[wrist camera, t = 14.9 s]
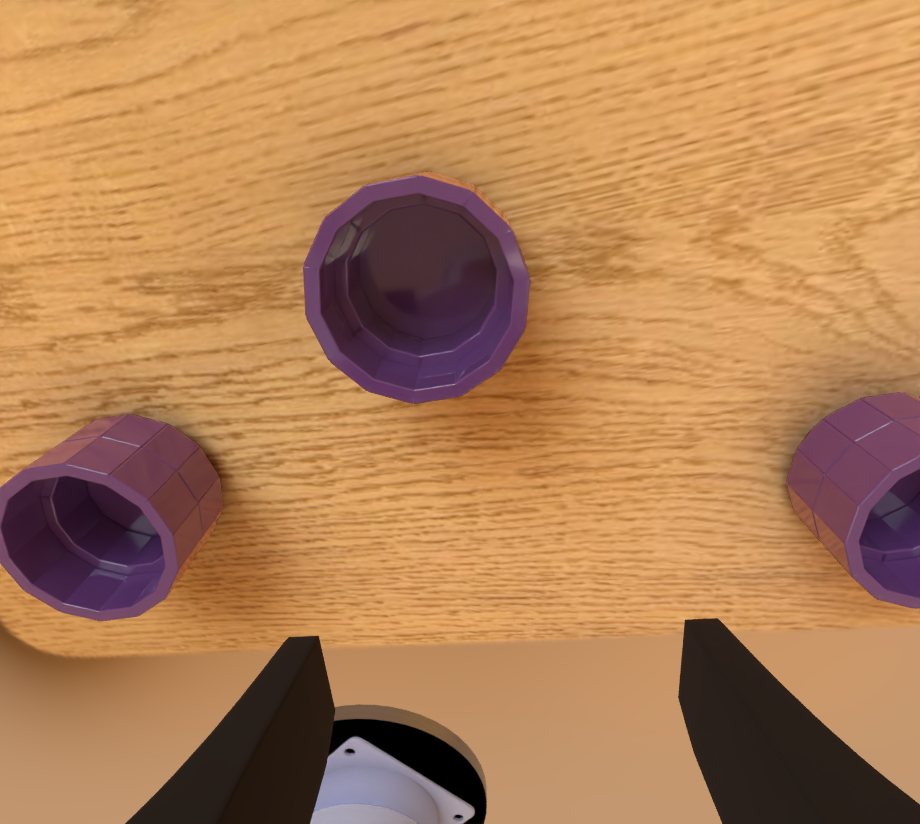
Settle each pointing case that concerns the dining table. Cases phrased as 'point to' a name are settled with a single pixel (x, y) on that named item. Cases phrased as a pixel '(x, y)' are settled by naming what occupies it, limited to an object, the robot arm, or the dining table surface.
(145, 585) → the purple faceted cup
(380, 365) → the purple cup
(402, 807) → the robot arm
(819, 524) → the purple cup
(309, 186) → the dining table surface
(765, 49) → the dining table surface
